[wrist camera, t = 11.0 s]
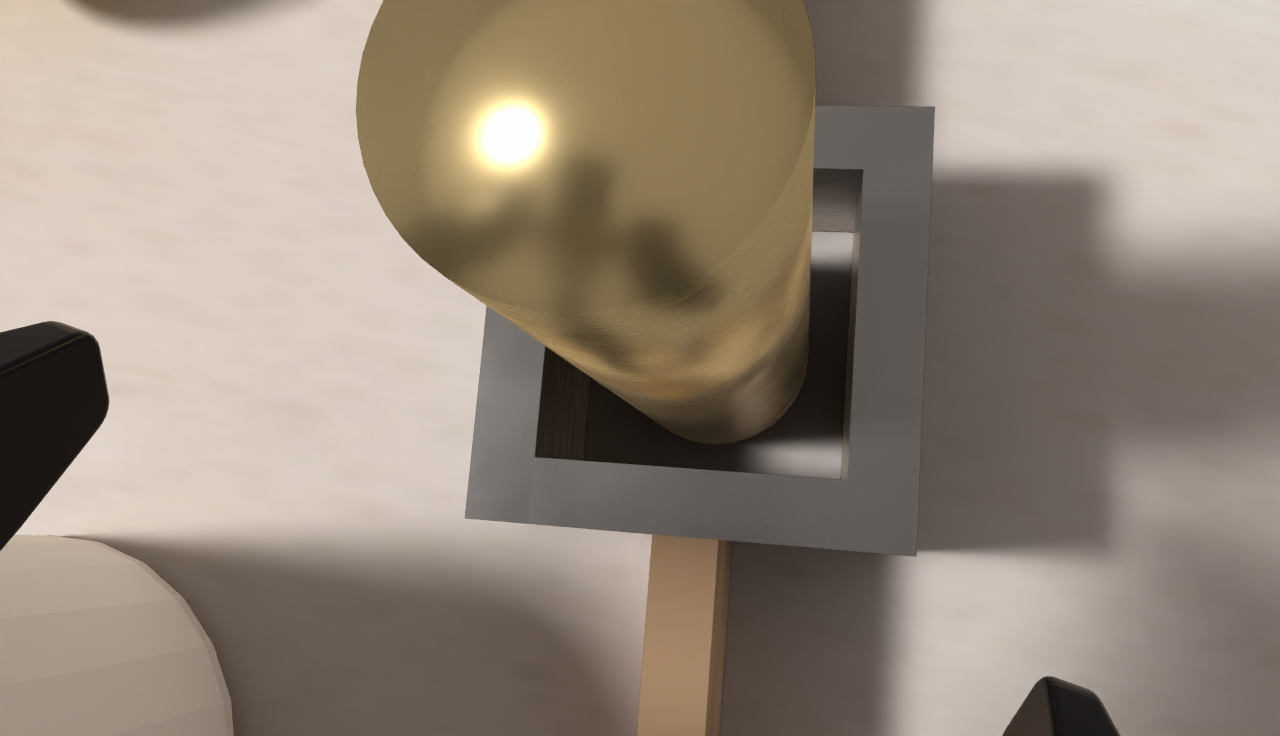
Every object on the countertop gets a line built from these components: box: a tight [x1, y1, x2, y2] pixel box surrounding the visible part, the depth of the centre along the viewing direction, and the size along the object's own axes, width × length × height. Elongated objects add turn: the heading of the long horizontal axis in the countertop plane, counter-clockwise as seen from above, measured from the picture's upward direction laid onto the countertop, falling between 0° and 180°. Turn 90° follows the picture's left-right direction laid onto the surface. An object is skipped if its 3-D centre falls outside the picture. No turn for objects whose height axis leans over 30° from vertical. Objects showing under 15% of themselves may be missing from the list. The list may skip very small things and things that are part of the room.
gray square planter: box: [465, 105, 935, 556], centre depth 20 cm, size 8×8×4 cm
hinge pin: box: [356, 0, 816, 444], centre depth 15 cm, size 4×4×14 cm
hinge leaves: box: [637, 534, 732, 736], centre depth 21 cm, size 30×1×4 cm, turn 175°
